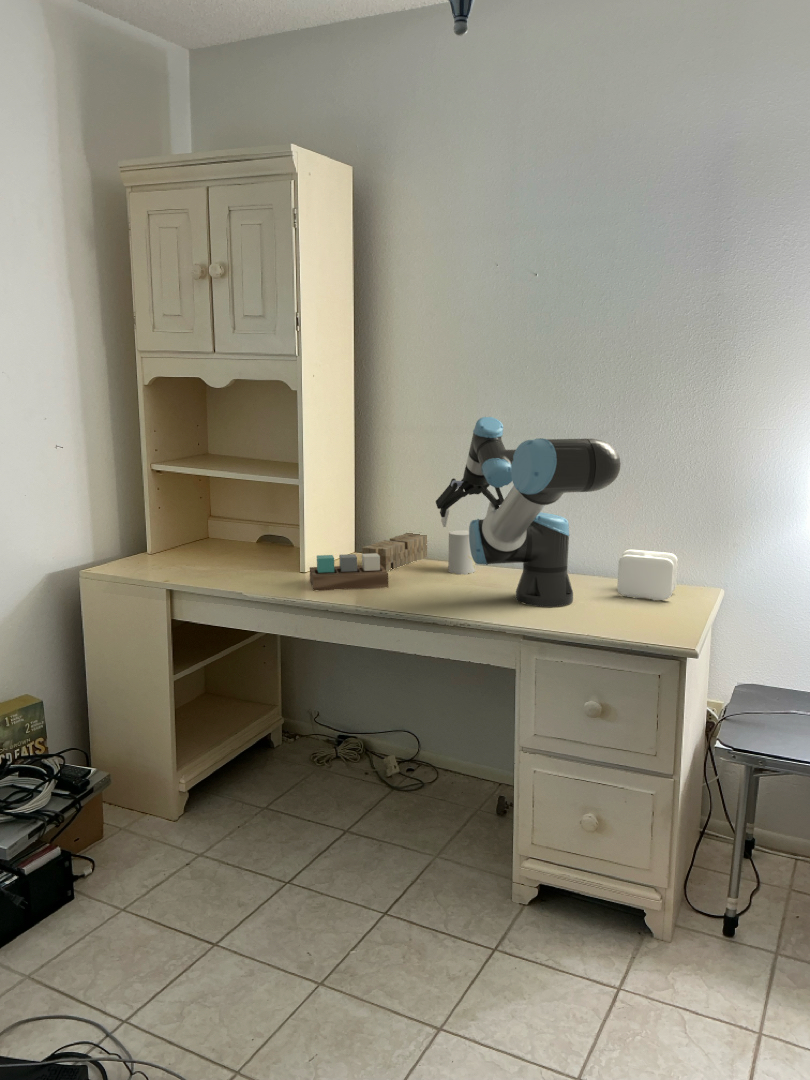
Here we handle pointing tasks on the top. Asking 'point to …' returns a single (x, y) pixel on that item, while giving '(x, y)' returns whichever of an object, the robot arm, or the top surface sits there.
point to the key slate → (348, 562)
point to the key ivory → (370, 562)
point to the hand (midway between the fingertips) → (465, 522)
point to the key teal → (325, 563)
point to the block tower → (399, 550)
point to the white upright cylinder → (460, 553)
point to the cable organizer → (647, 574)
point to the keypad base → (348, 579)
